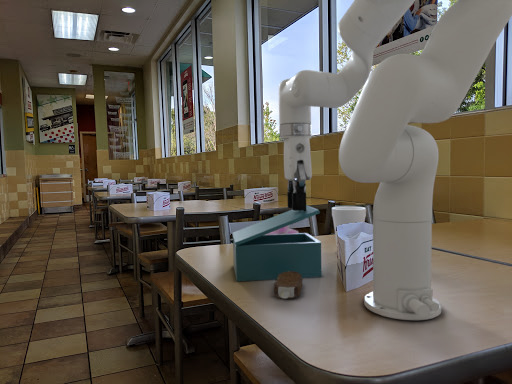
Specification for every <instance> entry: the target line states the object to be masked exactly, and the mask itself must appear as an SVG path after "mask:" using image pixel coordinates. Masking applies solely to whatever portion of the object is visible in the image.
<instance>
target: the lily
mask: <svg viewBox="0 0 512 384" xmlns="http://www.w3.org/2000/svg"><path fill="white" fill-rule="evenodd" d="M295 233H300V232H299V230H297V229H293V228H290V225H288V226H286V227H283V228H281V229H278V230H276V231H273V232H270V233H268V234H265V235H271V234H295Z"/></svg>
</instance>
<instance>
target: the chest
mask: <svg viewBox="0 0 512 384" xmlns="http://www.w3.org/2000/svg"><path fill="white" fill-rule="evenodd" d="M232 257H233V258H232V259H233V270H234V275H235V279H236V282H251V281H269V280H277V277H278V275H279V274H280V273H283V272H289V271H293V272H294V271H295V272H298V273H299V274H300V275H301V276H302V279H305V278H321V277H322V276H323V275H322V242H321V241H320V240H318V239H317V238H315V237H314V236H312V235H311V234H309V233H308V232H299V233H295V234H271V235H263V236H260V237H258V238H255V239H253V240H250V241H248V242H245V243H242V244H240V245H237V246H236V243H235V240H234V237H233V236H232Z"/></svg>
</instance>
